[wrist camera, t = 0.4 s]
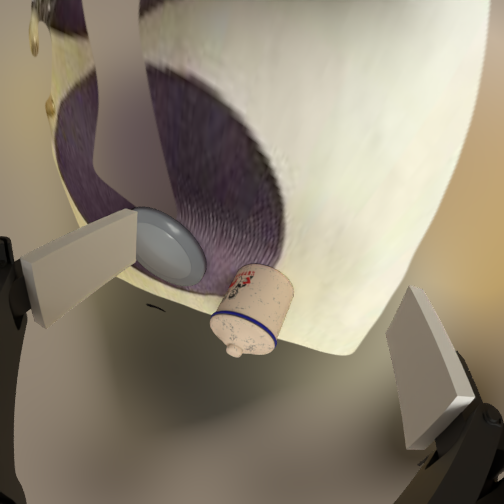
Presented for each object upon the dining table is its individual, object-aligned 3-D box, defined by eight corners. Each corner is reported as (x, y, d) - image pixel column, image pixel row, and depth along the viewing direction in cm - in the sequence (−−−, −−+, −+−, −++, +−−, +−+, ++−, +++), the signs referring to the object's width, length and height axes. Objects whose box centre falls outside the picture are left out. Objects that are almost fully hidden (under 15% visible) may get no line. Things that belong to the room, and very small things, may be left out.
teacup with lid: (249, 250, 37) (209, 324, 30) (308, 286, 38) (280, 363, 31) (223, 289, 47) (189, 349, 39) (271, 316, 47) (244, 378, 40)
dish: (115, 195, 40) (110, 200, 40) (203, 225, 37) (198, 231, 36) (136, 261, 52) (132, 266, 52) (209, 292, 49) (205, 298, 48)
